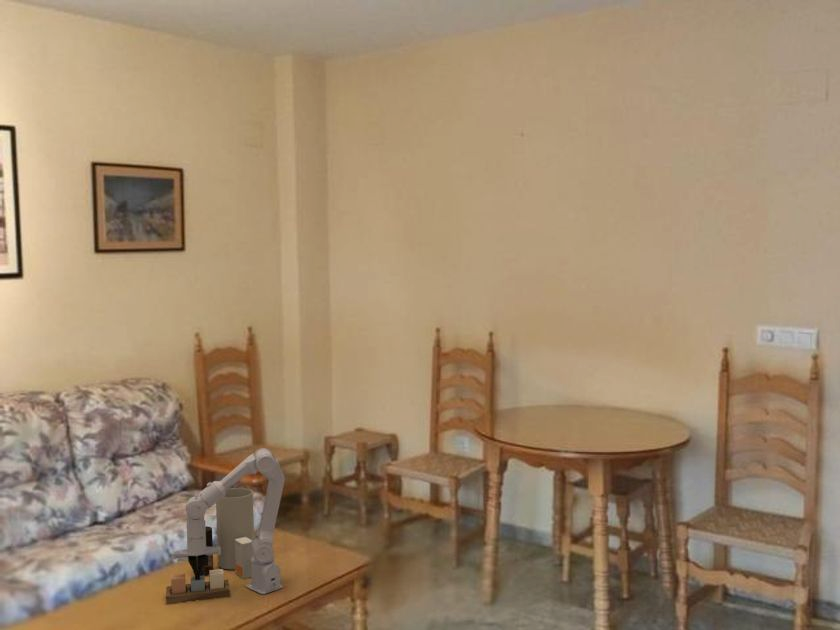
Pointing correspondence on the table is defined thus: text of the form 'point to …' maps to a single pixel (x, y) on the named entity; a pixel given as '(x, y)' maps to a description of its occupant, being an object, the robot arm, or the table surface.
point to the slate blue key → (197, 584)
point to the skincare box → (243, 557)
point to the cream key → (216, 579)
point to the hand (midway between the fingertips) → (197, 578)
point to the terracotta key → (178, 583)
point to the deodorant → (209, 558)
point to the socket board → (197, 593)
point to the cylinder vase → (233, 523)
